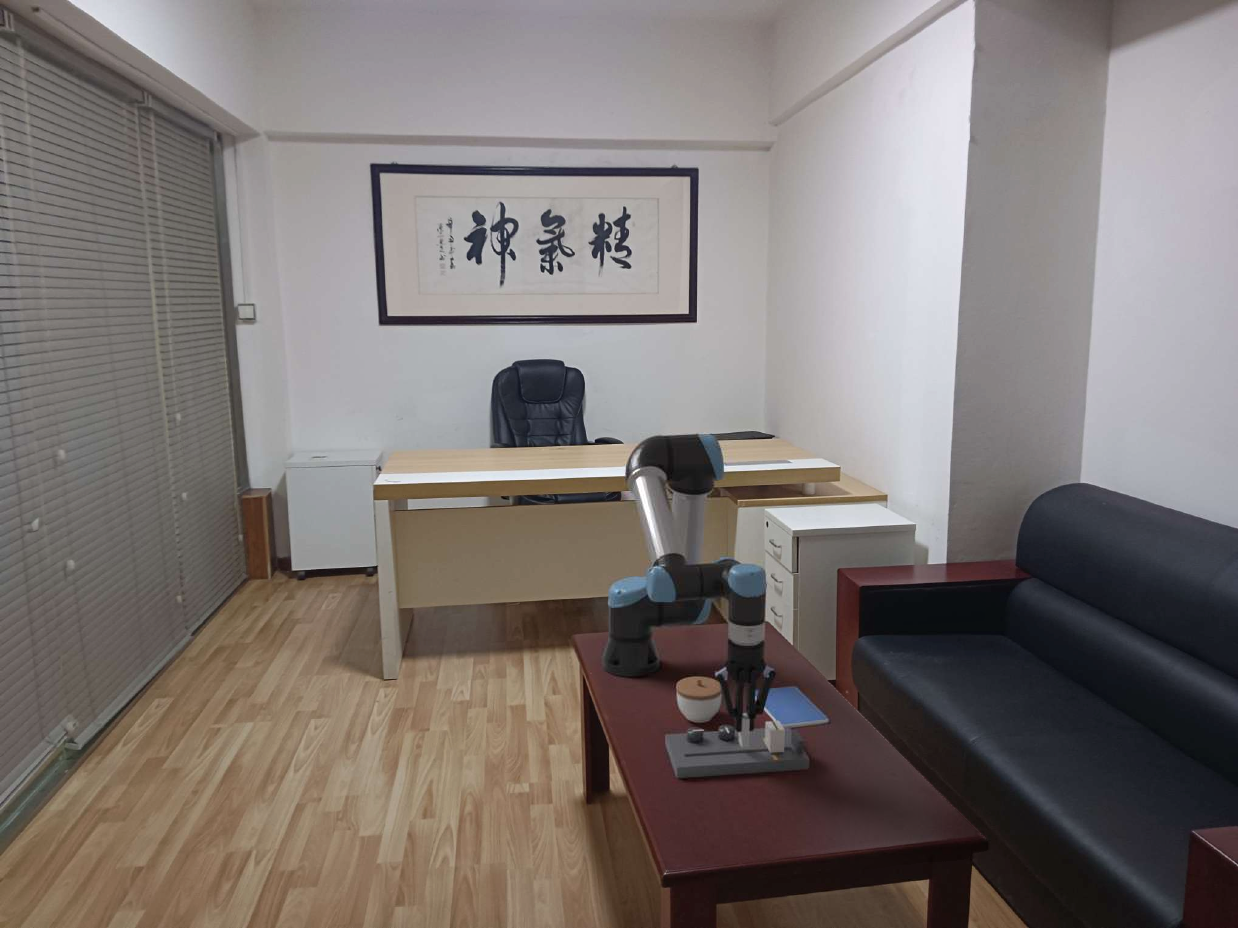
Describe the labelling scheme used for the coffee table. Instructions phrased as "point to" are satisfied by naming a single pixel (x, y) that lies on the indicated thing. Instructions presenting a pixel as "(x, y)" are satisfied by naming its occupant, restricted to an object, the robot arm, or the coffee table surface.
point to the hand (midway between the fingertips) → (743, 744)
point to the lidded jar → (698, 698)
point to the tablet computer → (792, 708)
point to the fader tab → (774, 736)
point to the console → (732, 753)
